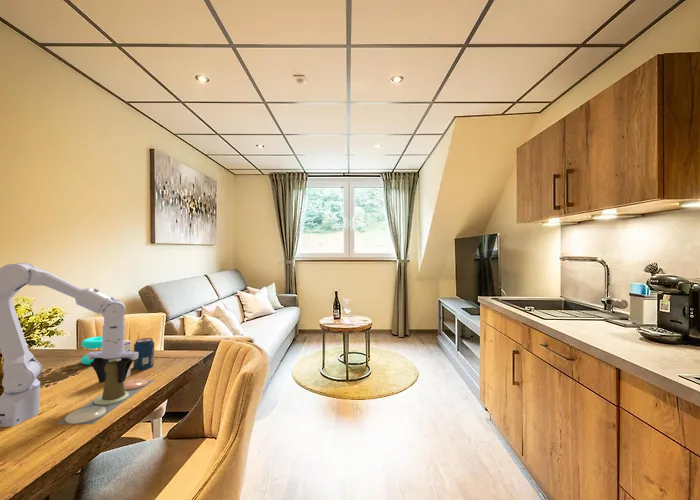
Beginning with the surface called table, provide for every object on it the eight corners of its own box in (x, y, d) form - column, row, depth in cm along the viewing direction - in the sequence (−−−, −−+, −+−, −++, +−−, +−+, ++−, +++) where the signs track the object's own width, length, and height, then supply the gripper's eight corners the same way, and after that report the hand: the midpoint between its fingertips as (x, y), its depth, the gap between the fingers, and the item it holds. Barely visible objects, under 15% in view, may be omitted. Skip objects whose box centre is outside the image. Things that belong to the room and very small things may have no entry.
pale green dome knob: (116, 405, 97) (116, 403, 97) (86, 405, 97) (86, 403, 97) (135, 392, 106) (135, 390, 106) (107, 392, 106) (107, 390, 106)
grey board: (92, 427, 87) (92, 423, 87) (54, 427, 86) (54, 424, 86) (154, 382, 117) (154, 380, 117) (125, 382, 116) (125, 380, 116)
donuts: (116, 336, 141) (92, 342, 131) (116, 359, 140) (91, 367, 131) (100, 334, 143) (75, 340, 134) (99, 356, 143) (74, 364, 134)
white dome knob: (90, 423, 87) (90, 421, 87) (56, 424, 86) (56, 421, 86) (113, 407, 96) (113, 405, 96) (82, 408, 95) (82, 406, 95)
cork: (114, 400, 99) (115, 365, 99) (96, 399, 99) (97, 364, 99) (130, 392, 105) (130, 358, 105) (113, 391, 105) (113, 358, 105)
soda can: (132, 368, 130) (132, 339, 130) (151, 365, 134) (152, 336, 135) (134, 374, 125) (135, 343, 125) (155, 370, 129) (156, 340, 129)
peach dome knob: (137, 390, 108) (137, 388, 108) (110, 390, 107) (110, 388, 107) (152, 380, 117) (152, 378, 117) (127, 380, 116) (127, 378, 116)
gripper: (144, 335, 106) (143, 376, 106) (99, 335, 105) (97, 376, 105) (131, 341, 99) (129, 385, 99) (82, 341, 98) (80, 385, 98)
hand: (112, 381), depth 101 cm, fingers open, 5 cm apart
